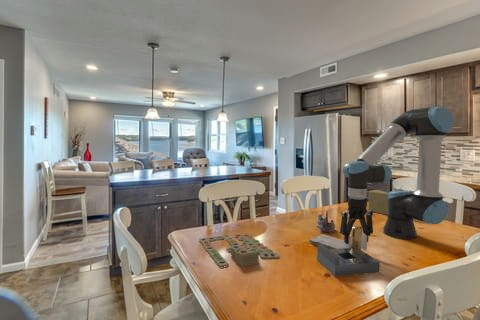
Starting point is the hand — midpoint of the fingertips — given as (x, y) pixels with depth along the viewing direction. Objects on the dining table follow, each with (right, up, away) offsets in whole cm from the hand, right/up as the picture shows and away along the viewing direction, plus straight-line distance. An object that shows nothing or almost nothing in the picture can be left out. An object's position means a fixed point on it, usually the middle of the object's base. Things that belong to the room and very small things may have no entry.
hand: (356, 249), depth 115 cm
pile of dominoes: (-52, -2, +7) cm, 52 cm away
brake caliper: (-3, 0, +32) cm, 32 cm away
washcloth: (-8, -2, +10) cm, 13 cm away
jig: (-8, -3, -10) cm, 14 cm away
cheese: (+49, +2, +64) cm, 81 cm away
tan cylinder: (0, -2, 0) cm, 2 cm away
